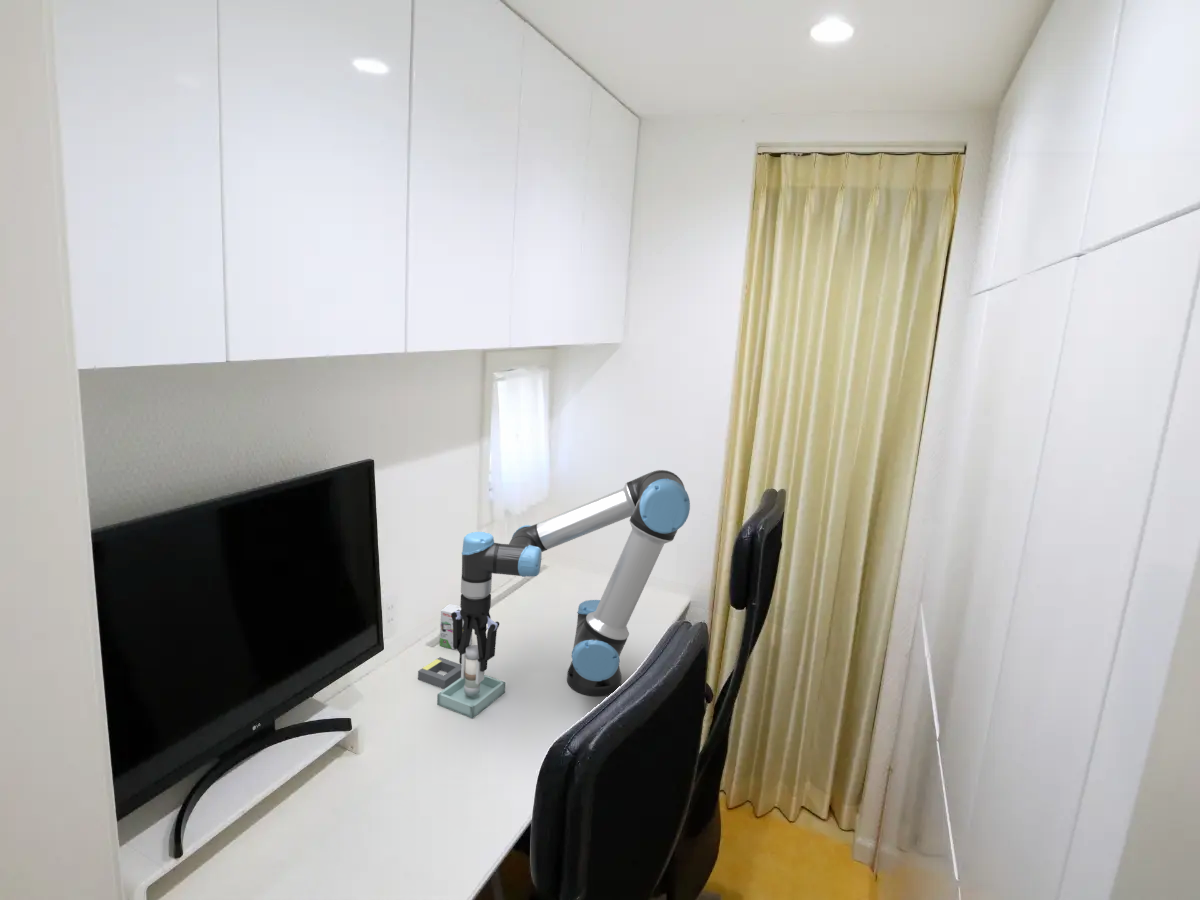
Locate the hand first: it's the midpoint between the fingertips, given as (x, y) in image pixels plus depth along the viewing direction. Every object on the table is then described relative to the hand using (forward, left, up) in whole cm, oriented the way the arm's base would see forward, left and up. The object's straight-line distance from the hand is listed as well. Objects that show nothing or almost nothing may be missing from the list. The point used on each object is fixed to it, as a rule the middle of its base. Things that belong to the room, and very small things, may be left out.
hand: (472, 678), depth 171 cm
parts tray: (0, 0, -6) cm, 6 cm away
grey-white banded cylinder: (0, 0, -4) cm, 4 cm away
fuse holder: (+13, -4, -6) cm, 15 cm away
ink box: (+21, -20, -6) cm, 30 cm away
